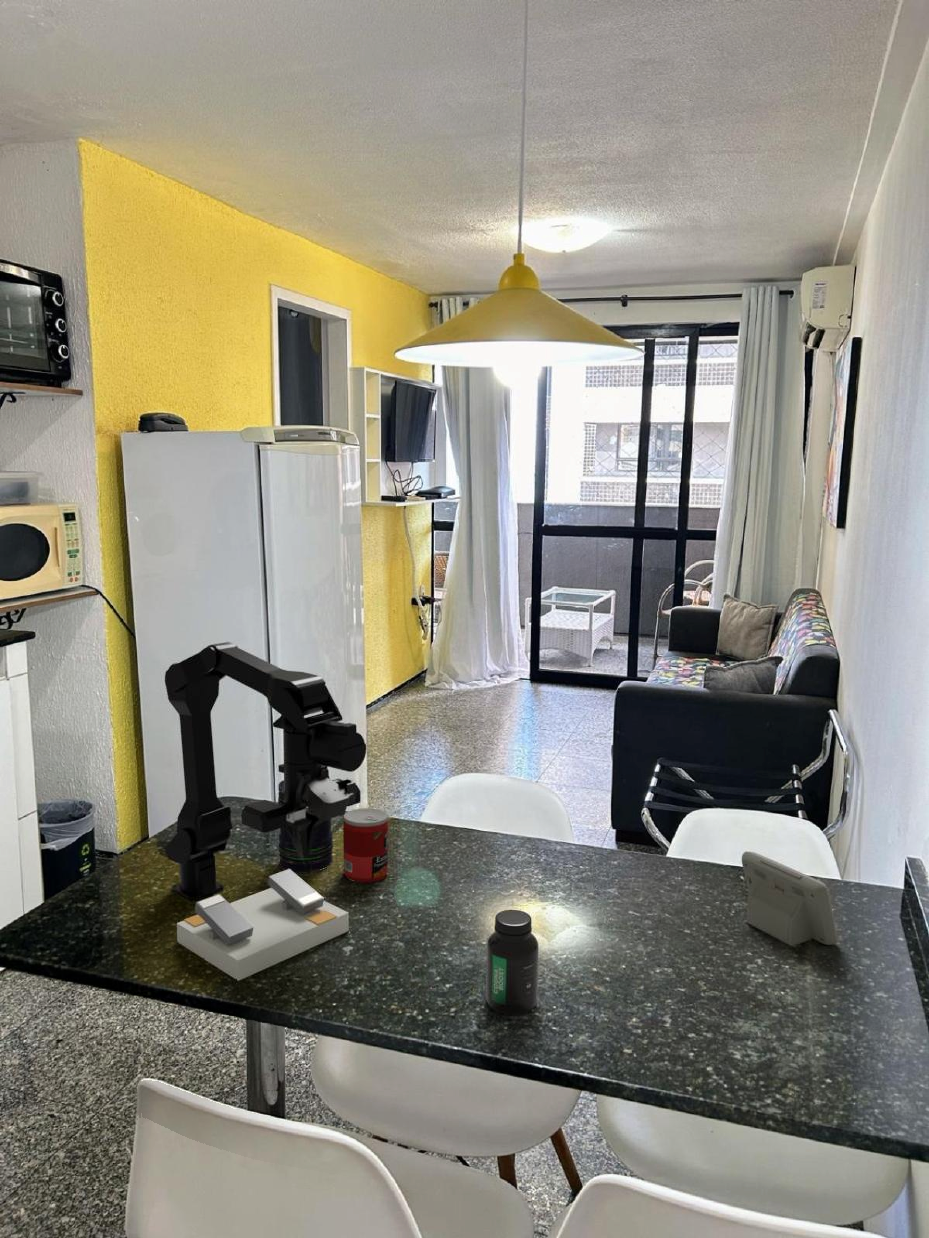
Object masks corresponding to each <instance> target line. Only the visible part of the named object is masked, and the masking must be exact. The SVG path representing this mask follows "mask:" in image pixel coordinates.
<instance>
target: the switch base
mask: <svg viewBox="0 0 929 1238" xmlns="http://www.w3.org/2000/svg"><path fill="white" fill-rule="evenodd" d="M228 903H229V904H230V905H231V906H232V907H233V908H234V909H235V910H236V911H237V912H238V913H239V914H240V915H242V916H243V917H244V918H245V919H246V920H247V921H248V922H249V923H250V924H251V925H252V926H253V933H252V936H251V937H248V938H246V939H243V940H241V941H238V942H236V943H234V944H231V945H229V946H228V945H227V944H226V943H225V942H224V941H223V940H222V939H221V938H220V937H219V936H218V935H217V933H216V932H215V931H214V930H213V929H212V928H211V927H210V926H209V925H208V924H207V923H206V922H205V921H204V920H203V919H202V918H201V917H200V916H199V915H198V914H195V915H193V916H190V917H187V918H185V919H184V920H182V921H179V922H177V923H176V935H177V936H176V938H177V939H176V940H177V943H178V944H180V945H181V946H183V947H184V948H187V949H188V950H190V952H192V953H194V954H196V955H197V956H198V957H200V958H202V959H203V958H204V959H203V960H204V961H206V962H208V963H209V964H211V965H213V966H215V967H216V968H217V969H219V970H220V971H222V972H224V973H225V974H227V975H228V976H230V977H231V978H233V979H234V980H236V979H237V980H236V981H241V980H243V979H246V978H248V977H250V976H252V975H254V974H256V973H258V972H261V971H263V970H265V969H267V968H271V967H272V966H274V965H277V964H279V963H281V962H283V961H285V960H287V959H290V958H292V957H294V956H296V955H299V954H301V953H303V952H305V951H307V950H309V949H311V948H314V947H316V946H318V945H321V944H323V943H325V942H327V941H330V940H332V939H334V938H336V937H339V936H340V935H343V934H345V933H348V932H349V929H350V928H349V924H350V923H349V921H350V920H349V916H350V915H349V912H348V911H347V910H344V909H342V908H341V907H337V906H335V905H334V904H331V903H329V902H327V901H325V900H324V901H323V906H322V907H320V908H317V909H315V910H312V911H310V912H308V913H305V914H303V915H302V914H301V913H299V912H298V911H297V910H296V909H295V908H294V907H293V906H292V905H290V904H289V903H288V902H287V901H286V900H285V899H284V898H283V897H281V896H280V895H279V894H278V893H277V892H276V891H275V890H274V889H272V888H271V887H269V888H267V889H265V890H262V891H259V892H256V893H253V894H251V895H249V896H246V897H243V898H240V899H238V900H235V901H232V902H228Z"/></svg>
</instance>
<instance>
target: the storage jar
mask: <svg viewBox="0 0 929 1238" xmlns="http://www.w3.org/2000/svg"><path fill="white" fill-rule="evenodd" d="M277 787H278V788H277V789H278V792H279V791H282V790H284V779H283V780H282V781H280V782H279V783H278V786H277ZM277 799H278V800H277V804H281V803H284V799H281V798H279V797H278V798H277ZM279 830H280V833H279V835H278V836H279V837H278V842H279V843H278V852H279V853H278V854H279V867H280V866H281V867H280V868H281V869H282V870H284V869H285V870H288V869H290V870H292V871H293V872H294V873H295V874H297V873H299V874H306V873H307V872H310V873H315V872H314V871H316V872H319V871H318V870H320V869H323V868H325V867H327V866H329V865H330V863H331V862H332V863H333V856H332V855H333V848H334V841H333V831H332V818H331V819H330V820H327V821H323V822H322V823H321V824H320V826H319V829H318V831H317V833H316V836H315V839H314V842H313V845H312V848H311V850H310V853H309V856H308V858H305V859H302V858H300V857H299V855H298V853H297V851H296V849H295V847H294V844H293V842H292V840H291V838H290V836H289V834H288V833H287V831H286V829H285V828H284V826H283V827H282V828H280V829H279ZM330 866H331V865H330ZM330 866H329V867H330ZM327 868H328V867H327ZM325 869H326V868H325ZM285 870H284V871H285ZM323 870H324V869H323ZM320 871H321V870H320ZM307 874H308V873H307Z"/></svg>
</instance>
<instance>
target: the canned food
mask: <svg viewBox="0 0 929 1238" xmlns="http://www.w3.org/2000/svg"><path fill="white" fill-rule="evenodd" d="M342 822H343V825H342V829H343V832H342V834H343V835H342V836H343V837H342V838H343V841H342V842H343V843H342V845H343V872H344V876H345V878H347V879H348V880H350V879H351V880H350V881H352V880H354V881H353V882H355V881H357V882H356V883H362V882H366V883H365V884H368V883H375V882H379V881H381V880H383V879H384V878H385V877H386V876H387V874H388V871H389V816H388V813H387V812H385V811H384V810H380V809H377V808H370V807H368V808H367V807H366V808H365V807H363V808H362V807H361V808H355V809H351V810H348V811H346V812H345V814H344V815H343V821H342ZM378 880H379V881H378ZM367 882H368V883H367Z"/></svg>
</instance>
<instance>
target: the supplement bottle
mask: <svg viewBox="0 0 929 1238" xmlns="http://www.w3.org/2000/svg"><path fill="white" fill-rule="evenodd" d="M494 917H495V918H494V932H492V934H491V935H490V936H489V937H488V939H487V943H486V983H485V984H486V985H485V986H486V989H485V992H486V998H485V999H486V1002H487V1004H488V1006H489V1007H490V1008H491V1010H493V1011H494V1012H496V1013H498V1014H502V1015H506V1016H519V1015H520V1016H521V1015H524V1014H525V1015H526V1014H527V1013H529V1012H530V1011H532V1010H533V1009H535V1007H536V1005H537V1003H538V991H539V990H538V988H539V987H538V986H539V983H538V981H539V980H538V979H539V949H540V948H539V942H538V939H537V937H536V936H535V935H534V934H533V933H532V931H533V928H532V927H533V926H532V921H533V919H532V917H531V915H530V914H529V913H527V912H525V911H523V910H519V909H506V910H501V911H500V912H498V913H496V915H495V916H494Z"/></svg>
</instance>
